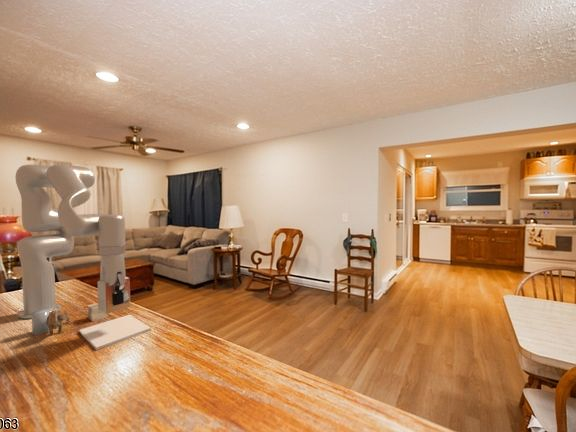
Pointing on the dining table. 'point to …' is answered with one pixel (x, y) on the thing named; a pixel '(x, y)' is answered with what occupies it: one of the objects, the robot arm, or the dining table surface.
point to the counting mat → (113, 331)
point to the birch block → (95, 313)
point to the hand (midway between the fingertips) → (114, 301)
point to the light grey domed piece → (40, 322)
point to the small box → (106, 297)
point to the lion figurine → (57, 320)
